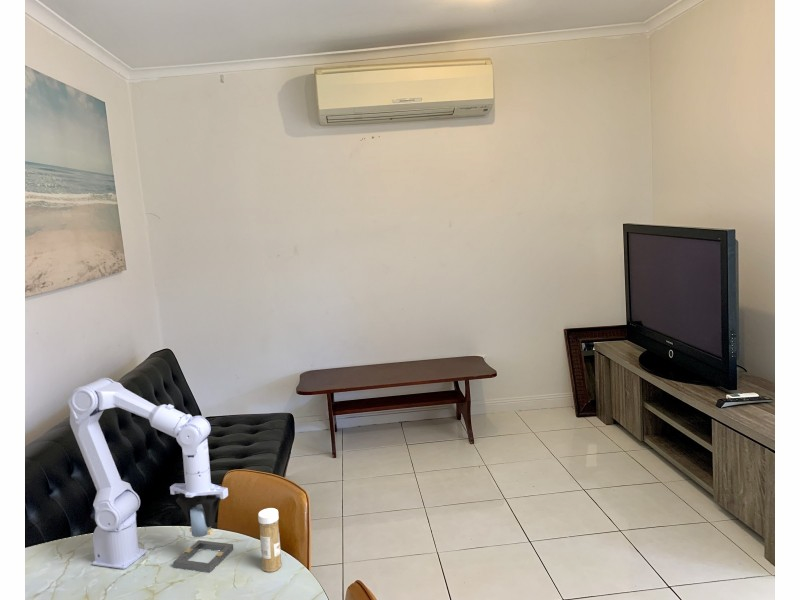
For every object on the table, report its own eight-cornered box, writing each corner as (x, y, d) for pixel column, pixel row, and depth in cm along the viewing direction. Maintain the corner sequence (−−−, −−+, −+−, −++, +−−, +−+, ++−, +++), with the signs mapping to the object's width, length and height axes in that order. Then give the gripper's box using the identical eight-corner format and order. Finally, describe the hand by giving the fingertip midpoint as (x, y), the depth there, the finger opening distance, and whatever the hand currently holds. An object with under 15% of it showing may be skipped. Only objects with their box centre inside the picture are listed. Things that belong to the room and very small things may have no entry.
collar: (173, 567, 132) (173, 561, 132) (199, 545, 141) (198, 539, 141) (210, 572, 129) (209, 565, 129) (233, 549, 139) (233, 543, 139)
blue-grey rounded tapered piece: (185, 535, 133) (183, 511, 133) (197, 526, 137) (195, 502, 137) (205, 538, 131) (203, 514, 131) (217, 529, 136) (215, 505, 135)
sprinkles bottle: (285, 568, 130) (281, 512, 129) (266, 575, 127) (261, 518, 126) (277, 559, 134) (273, 505, 132) (259, 566, 131) (255, 511, 130)
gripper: (159, 474, 131) (164, 529, 133) (214, 478, 127) (218, 535, 129) (178, 462, 138) (183, 515, 139) (231, 466, 134) (235, 520, 135)
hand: (201, 524), depth 134 cm, fingers closed on blue-grey rounded tapered piece, 4 cm apart
